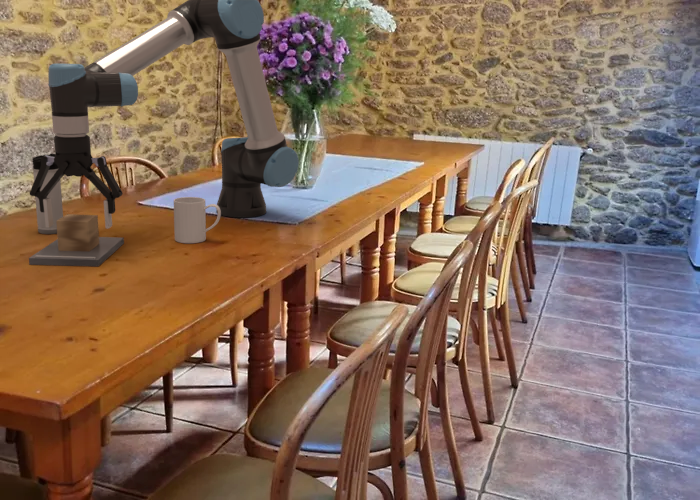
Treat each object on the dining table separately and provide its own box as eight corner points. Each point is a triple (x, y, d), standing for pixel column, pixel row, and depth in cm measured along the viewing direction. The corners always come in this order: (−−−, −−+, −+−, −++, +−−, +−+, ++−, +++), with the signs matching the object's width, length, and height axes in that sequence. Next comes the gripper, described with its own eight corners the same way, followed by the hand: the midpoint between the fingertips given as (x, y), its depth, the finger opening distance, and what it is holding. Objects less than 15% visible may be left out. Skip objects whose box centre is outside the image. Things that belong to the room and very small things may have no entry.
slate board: (123, 243, 171) (123, 236, 170) (98, 266, 151) (97, 259, 151) (62, 241, 170) (62, 235, 169) (29, 264, 151) (28, 257, 150)
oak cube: (99, 243, 164) (97, 215, 162) (89, 251, 157) (87, 221, 155) (69, 242, 164) (67, 214, 162) (58, 250, 157) (56, 220, 155)
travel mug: (70, 230, 181) (65, 154, 176) (52, 235, 175) (46, 157, 170) (51, 227, 183) (45, 152, 178) (32, 232, 177) (26, 155, 172)
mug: (169, 242, 174) (168, 201, 171) (182, 235, 181) (181, 196, 178) (214, 246, 171) (214, 205, 169) (226, 239, 179) (225, 199, 176)
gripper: (132, 134, 157) (137, 223, 163) (22, 131, 156) (31, 221, 162) (123, 138, 150) (129, 231, 156) (7, 135, 149) (17, 229, 155)
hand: (79, 226), depth 159 cm, fingers open, 13 cm apart
